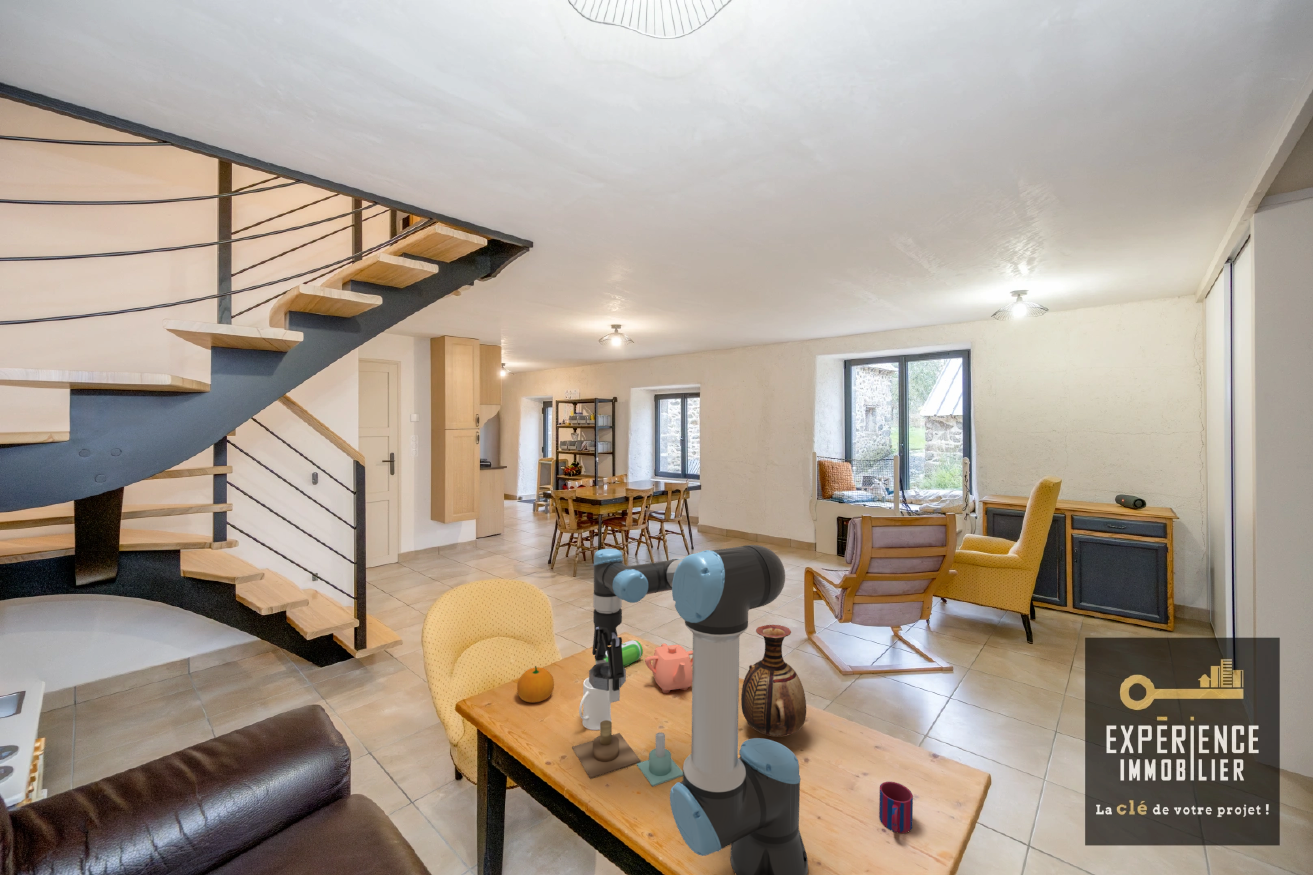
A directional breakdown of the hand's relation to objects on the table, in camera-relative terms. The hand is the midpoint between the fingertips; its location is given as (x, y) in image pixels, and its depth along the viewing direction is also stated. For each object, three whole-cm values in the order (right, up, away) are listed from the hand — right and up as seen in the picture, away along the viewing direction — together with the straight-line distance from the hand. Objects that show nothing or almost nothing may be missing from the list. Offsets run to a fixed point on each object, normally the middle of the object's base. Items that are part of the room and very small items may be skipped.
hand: (607, 692), depth 138 cm
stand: (+14, -17, -6) cm, 23 cm away
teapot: (+19, -16, +37) cm, 45 cm away
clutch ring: (0, +3, 0) cm, 3 cm away
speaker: (0, -16, +52) cm, 54 cm away
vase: (+46, -17, +10) cm, 50 cm away
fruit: (-26, -16, +30) cm, 43 cm away
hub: (0, -17, 0) cm, 17 cm away
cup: (+65, -18, -24) cm, 72 cm away
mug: (-6, -17, +14) cm, 23 cm away
